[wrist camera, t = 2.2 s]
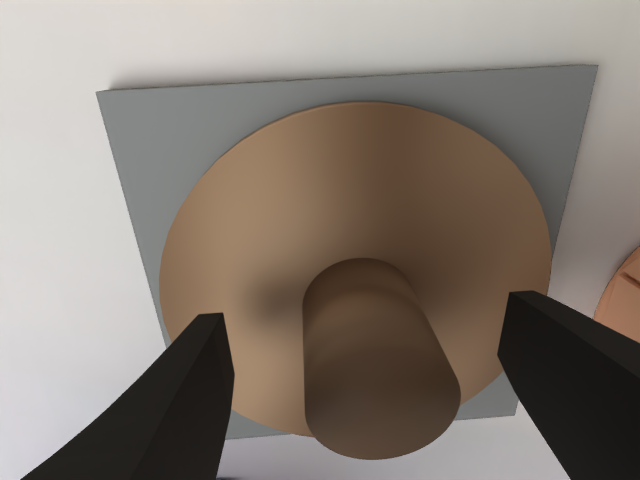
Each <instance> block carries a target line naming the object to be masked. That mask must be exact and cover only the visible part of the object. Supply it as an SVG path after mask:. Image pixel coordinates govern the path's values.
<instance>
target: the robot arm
mask: <svg viewBox="0 0 640 480" xmlns="http://www.w3.org/2000/svg"><path fill="white" fill-rule="evenodd" d="M497 356H498V358H499V360H500V363H501V365H502V367H503V369H504V372H505V374H506V376H507V378H508V380H509V382H510V384H511V386H512V388H513V390H514V392H515V393H516V395H517V397H518V398H519V400H520V402H521V403H522V405H523V406H524V408H525V409H526V411H527V413H528V414H529V416H530V417H531V419H532V420H533V422H534V424H535V425H536V427H537V428H538V430H539V431H540V433H541V434H542V436H543V437H544V439H545V441H546V442H547V444H548V445H549V447H550V448H551V450H552V451H553V453H554V454H555V456H556V457H557V459H558V461H559V462H560V464H561V465H562V467H563V468H564V470H565V471H566V473H567V474H568V476H569V478H570V479H571V480H640V343H639V342H637V341H635V340H633V339H631V338H629V337H627V336H625V335H623V334H621V333H619V332H617V331H615V330H613V329H611V328H609V327H607V326H605V325H603V324H601V323H599V322H597V321H595V320H593V319H591V318H589V317H587V316H585V315H583V314H581V313H580V312H578V311H576V310H574V309H572V308H570V307H568V306H566V305H564V304H562V303H560V302H558V301H556V300H554V299H552V298H550V297H548V296H545V295H543V294H541V293H538V292H536V291H534V290H529V291H515V292H509V296H508V301H507V306H506V311H505V316H504V321H503V326H502V331H501V336H500V341H499V347H498V352H497ZM234 379H235V372H234V367H233V362H232V356H231V351H230V346H229V340H228V335H227V330H226V324H225V319H224V314H223V312H220V313H206V314H198V315H197V316H196V317H195V318H194V319H193V320H192V322H191V323H190V324H189V325H188V326H187V327H186V328H185V329H184V330H183V331H182V332H181V334H180V335H179V336H178V337H177V338H176V339H175V340H174V341H173V342H172V343H171V345H170V346H169V347H168V348H167V349H166V350H165V351H164V352H163V353H162V354H161V355H160V357H159V358H158V359H157V360H156V361H155V362H154V363H153V364H152V365H151V366H150V367H149V368H148V369H147V370H146V371H145V372H144V373H143V374H142V375H141V376H140V377H139V378H138V379H137V380H136V381H135V382H134V383H133V384H132V385H131V386H130V387H129V388H128V389H127V390H126V391H125V392H124V393H123V394H122V395H121V396H120V397H119V398H118V399H117V400H116V401H115V402H114V403H113V404H112V405H111V406H110V407H109V408H107V409H106V410H105V411H104V412H103V413H102V414H101V415H100V416H99V417H97V418H96V419H95V420H94V421H93V422H92V423H91V424H89V425H88V426H87V427H86V428H85V429H84V430H82V431H81V432H80V433H79V434H78V435H76V436H75V437H74V438H73V439H72V440H70V441H69V442H68V443H67V444H66V445H64V446H63V447H62V448H61V449H60V450H58V451H57V452H56V453H55V454H53V455H52V456H51V457H50V458H48V459H47V460H46V461H44V462H43V463H42V464H40V465H39V466H38V467H36V468H35V469H34V470H32V471H31V472H30V473H28V474H27V475H26V476H24V477H23V478H22V479H20V480H216V476H217V472H218V467H219V463H220V459H221V454H222V450H223V446H224V441H225V437H226V433H227V428H228V424H229V419H230V415H231V407H232V399H233V389H234Z"/></svg>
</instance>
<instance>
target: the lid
mask: <svg viewBox="0 0 640 480" xmlns="http://www.w3.org/2000/svg"><path fill="white" fill-rule="evenodd" d="M550 274H551V245H550V238H549V231H548V226H547V223H546V220H545V216H544V213H543V210H542V207H541V204H540V202H539V201H538V199H537V197H536V195H535V193H534V191H533V189H532V187H531V185H530V183H529V182H528V181H527V179H526V178H525V177H524V175H523V174H522V173H521V171H520V170H519V169H518V167H517V166H516V165H515V164H514V163H513V162H512V161H511V160H510V159H509V158H508V157H507V156H506V155H505V154H504V153H503V152H502V151H501V150H500V149H499V148H498V147H497V146H495V145H494V144H492V143H491V142H490V141H488V140H487V139H485V138H484V137H482V136H481V135H479V134H478V133H476V132H475V131H473V130H471V129H469V128H467V127H465V126H463V125H461V124H459V123H457V122H455V121H452V120H450V119H448V118H446V117H444V116H441V115H439V114H436V113H433V112H430V111H427V110H423V109H420V108H417V107H413V106H410V105H405V104H398V103H391V102H384V101H345V102H338V103H330V104H323V105H318V106H315V107H311V108H308V109H304V110H300V111H297V112H293V113H291V114H288V115H286V116H284V117H281V118H279V119H277V120H274V121H272V122H270V123H267V124H265V125H264V126H262V127H260V128H259V129H257V130H256V131H254V132H252V133H251V134H249V135H247V136H246V137H244V138H242V139H241V140H240V141H238V142H237V143H236V144H235V145H234V146H232V147H231V148H230V149H229V150H227V151H226V152H225V153H224V154H223V155H221V156H220V157H219V158H218V159H217V160H216V162H215V163H214V164H213V165H212V166H211V167H210V168H209V169H208V170H207V171H206V172H205V174H204V175H203V176H202V177H201V178H200V179H199V181H198V182H197V183H196V185H195V186H194V187H193V189H192V190H191V192H190V193H189V195H188V196H187V198H186V199H185V201H184V202H183V204H182V205H181V207H180V208H179V210H178V212H177V215H176V217H175V219H174V221H173V223H172V225H171V227H170V230H169V232H168V235H167V239H166V242H165V246H164V249H163V252H162V257H161V265H160V273H159V296H160V305H161V310H162V315H163V320H164V324H165V327H166V329H167V332H168V335H169V337H170V340H171V343H172V342H173V341H174V340H175V339H176V338H177V337H178V336H179V335H180V334H181V332H182V331H183V330H184V329H185V328H186V327H187V326H188V325H189V324H190V323H191V322H192V320H193V319H194V318H195V317H196V316H197V315H198V314H206V313H220V312H223V314H224V319H225V324H226V330H227V335H228V340H229V346H230V351H231V356H232V362H233V367H234V372H235V379H234V389H233V399H232V407H231V409H232V410H234V411H236V412H237V413H239V414H240V415H242V416H244V417H247V418H249V419H251V420H253V421H255V422H257V423H259V424H262V425H265V426H268V427H271V428H274V429H276V430H280V431H284V432H288V433H292V434H296V435H301V436H309V437H315V438H316V439H317V440H318V441H319V442H320V443H321V444H322V445H324V446H325V447H327V448H328V449H330V450H332V451H334V452H336V453H338V454H341V455H344V456H347V457H352V458H357V459H366V460H379V459H388V458H394V457H399V456H402V455H406V454H409V453H412V452H414V451H416V450H419V449H421V448H423V447H425V446H426V445H428V444H430V443H431V442H433V441H434V440H435V439H437V438H438V437H439V436H440V435H442V434H443V433H444V432H445V431H446V430H447V428H448V427H449V426H450V425H451V423H452V422H453V420H454V418H455V417H456V415H457V412H458V410H459V406H460V405H462V404H463V403H465V402H466V401H468V400H469V399H471V398H472V397H474V396H475V395H477V394H478V393H479V392H481V391H482V390H483V389H484V388H485V387H487V386H488V385H489V384H490V383H492V382H493V381H494V380H495V379H496V378H497V377H498V376H499V375H500V374H501V373H502V372H503V371H504V369H503V367H502V365H501V363H500V360H499V358H498V356H497V352H498V347H499V341H500V336H501V331H502V326H503V321H504V316H505V311H506V306H507V301H508V296H509V292H515V291H529V290H534V291H536V292H538V293H541V294H543V295H545V296H547V292H548V286H549V280H550Z"/></svg>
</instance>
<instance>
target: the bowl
mask: <svg viewBox="0 0 640 480" xmlns="http://www.w3.org/2000/svg"><path fill="white" fill-rule="evenodd" d="M593 320H595V321H597V322H599V323H601V324H603V325H605V326H607V327H609V328H611V329H613V330H615V331H617V332H619V333H621V334H623V335H625V336H627V337H629V338H631V339H633V340H635V341H637V342H639V343H640V246H639V247H638V248H637V249H636V250H635V251H634V252H633V253H632V254H631V255H630V256H629V257H628V258H627V260H626V261H625V262H624V263H623V264H622V265H621V267H620V268H619V269H618V270H617V272H616V273H615V275H614V276H613V278H612V279H611V281H610V282H609V284H608V285H607V287H606V289H605V291H604V293H603V295H602V297H601V298H600V301H599V303H598V306H597V309H596V311H595V314H594V319H593Z"/></svg>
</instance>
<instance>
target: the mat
mask: <svg viewBox="0 0 640 480" xmlns="http://www.w3.org/2000/svg"><path fill="white" fill-rule="evenodd" d="M597 69H598V65H566V66H548V67H529V68H510V69H492V70H473V71H454V72H435V73H417V74H398V75H379V76H361V77H342V78H323V79H304V80H286V81H267V82H248V83H230V84H211V85H192V86H174V87H155V88H136V89H117V90H104V91H99V92H96V96H97V99H98V103H99V107H100V110H101V114H102V117H103V121H104V125H105V128H106V132H107V136H108V139H109V143H110V146H111V150H112V154H113V157H114V161H115V164H116V168H117V172H118V175H119V179H120V182H121V186H122V190H123V193H124V197H125V201H126V204H127V208H128V211H129V215H130V219H131V222H132V226H133V229H134V233H135V237H136V240H137V244H138V248H139V251H140V255H141V258H142V262H143V266H144V269H145V273H146V276H147V280H148V284H149V287H150V291H151V294H152V298H153V302H154V305H155V309H156V313H157V316H158V320H159V323H160V327H161V331H162V334H163V338H164V341H165V345H166V349H167V348H168V347H169V346H170V345H171V340H170V337H169V335H168V332H167V329H166V327H165V324H164V320H163V315H162V310H161V305H160V296H159V273H160V265H161V257H162V252H163V249H164V246H165V242H166V239H167V235H168V232H169V230H170V227H171V225H172V223H173V221H174V219H175V217H176V215H177V212H178V210H179V208H180V207H181V205H182V204H183V202H184V201H185V199H186V198H187V196H188V195H189V193H190V192H191V190H192V189H193V187H194V186H195V185H196V183H197V182H198V181H199V179H200V178H201V177H202V176H203V175H204V174H205V172H206V171H207V170H208V169H209V168H210V167H211V166H212V165H213V164H214V163H215V162H216V160H217V159H218V158H219V157H220V156H221V155H223V154H224V153H225V152H226V151H227V150H229V149H230V148H231V147H232V146H234V145H235V144H236V143H237V142H238V141H240V140H241V139H242V138H244V137H246V136H247V135H249V134H251V133H252V132H254V131H256V130H257V129H259V128H260V127H262V126H264V125H265V124H267V123H270V122H272V121H274V120H277V119H279V118H281V117H284V116H286V115H288V114H291V113H293V112H297V111H300V110H304V109H308V108H311V107H315V106H318V105H323V104H330V103H338V102H345V101H384V102H391V103H398V104H405V105H410V106H413V107H417V108H420V109H423V110H427V111H430V112H433V113H436V114H439V115H441V116H444V117H446V118H448V119H450V120H452V121H455V122H457V123H459V124H461V125H463V126H465V127H467V128H469V129H471V130H473V131H475V132H476V133H478V134H479V135H481V136H482V137H484V138H485V139H487V140H488V141H490V142H491V143H492V144H494V145H495V146H497V147H498V148H499V149H500V150H501V151H502V152H503V153H504V154H505V155H506V156H507V157H508V158H509V159H510V160H511V161H512V162H513V163H514V164H515V165H516V166H517V167H518V169H519V170H520V171H521V173H522V174H523V175H524V177H525V178H526V179H527V181H528V182H529V183H530V185H531V187H532V189H533V191H534V193H535V195H536V197H537V199H538V201H539V202H540V204H541V207H542V210H543V213H544V216H545V220H546V223H547V226H548V231H549V238H550V245H551V261H552V257H553V253H554V249H555V245H556V241H557V236H558V232H559V228H560V224H561V220H562V215H563V211H564V207H565V203H566V199H567V195H568V190H569V186H570V182H571V178H572V174H573V169H574V165H575V161H576V157H577V153H578V148H579V144H580V140H581V136H582V132H583V128H584V123H585V119H586V115H587V111H588V107H589V102H590V98H591V94H592V90H593V86H594V82H595V77H596V73H597ZM518 400H519V398H518V397H517V395H516V393H515V392H514V390H513V388H512V386H511V384H510V382H509V380H508V378H507V376H506V374H505V372H504V371H503V372H502V373H501V374H500V375H499V376H498V377H497V378H496V379H495V380H494V381H493V382H492V383H490V384H489V385H488V386H487V387H485V388H484V389H483V390H482V391H481V392H479V393H478V394H477V395H475V396H474V397H472V398H471V399H469V400H468V401H466V402H465V403H463V404H462V405H460V406H459V410H458V412H457V415H456V417H455V418H454V420H466V419H478V418H490V417H502V416H514V415H515V412H516V408H517V404H518ZM454 420H453V421H454ZM287 434H292V433H288V432H284V431H280V430H276V429H274V428H271V427H268V426H265V425H262V424H259V423H257V422H255V421H253V420H251V419H249V418H247V417H244V416H242V415H240V414H239V413H237V412H236V411H234V410H232V409H231V415H230V419H229V424H228V428H227V433H226V437H225V440H228V439H239V438H251V437H263V436H275V435H287Z"/></svg>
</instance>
